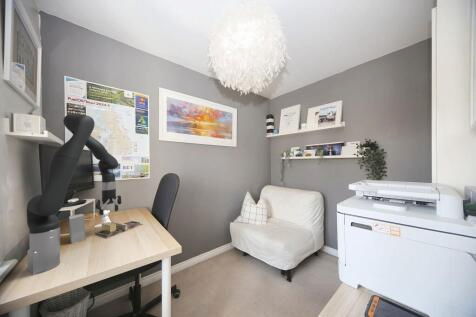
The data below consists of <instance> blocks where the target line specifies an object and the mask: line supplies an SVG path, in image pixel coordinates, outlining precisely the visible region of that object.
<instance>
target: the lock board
mask: <svg viewBox="0 0 476 317" xmlns="http://www.w3.org/2000/svg"><path fill="white" fill-rule="evenodd" d="M111 223H115V224H116V232H114V233H111V234H109V235H108V234H105V233H102V229H100V230H99V231H96V232H95V233H93V234H91V236H95V237H98V238H102V239H105V240H107V239H109V238H112V237H115V236H116V235H117V236H118V235H119V234H122V233H125V232H128V231H129V230H133V229H135V228H138V227H140V226H143V225H144V224H143V223H140V221H134V220H130V221H127V222H124V223H121V222H116V221H111Z"/></svg>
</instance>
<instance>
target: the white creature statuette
mask: <svg viewBox="0 0 476 317" xmlns="http://www.w3.org/2000/svg"><path fill="white" fill-rule="evenodd" d="M103 211H104V215H100V216H101V219H100V220H101V221H100V222H99V224H96V225H94V228H102V224H103V223H106V222H110V223H112V221H111V219H110V217H109V213H111V211H110V210H107V209H105V210H103Z"/></svg>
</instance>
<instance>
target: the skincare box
mask: <svg viewBox="0 0 476 317" xmlns="http://www.w3.org/2000/svg"><path fill="white" fill-rule="evenodd" d="M85 224H86V222H85V215H84V213H77V214H74V215H70V216H68V226H69V228H68V229H69V238H70V244H72V245H74V244H78V243H80V242H84V241H87V238H86V237H87V236H86V226H85Z"/></svg>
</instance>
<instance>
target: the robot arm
mask: <svg viewBox="0 0 476 317" xmlns="http://www.w3.org/2000/svg"><path fill="white" fill-rule="evenodd" d="M62 122H63V126H64V127H65V128H66V129H67V130H68V131H69V132H70V133H71V134H72V135H71V137H70V139H69V140H67V141H66V142H65V143H64V144H62V145H61V146H59V147H58V148H57V150H55V152H54V154H53V155H52V157H51V159H50V162H49V165H48V177H47V178H48V180H47V183H46V186H45V189H44V190H43V192H42V194H38V195H35V196H34V197H32V198H31V199H29V201H28V202H27V205H26V224H27V228H28V229H29V249H27V256H26V258H27V260H26V262H27V263H26V266H27V268H26V269H27V273H29V274H31V275H32V276H33V275H36V274H40V273H44V272H47V271H50V270H52V269H53V268H54V269H55V268H56V267H57V266H59V265H60V264H61V221H60V220H59V218H58V217H57V214H58V212H59V211H60V210H61V209H62V208H63V206H64V202H65V200H66V195H67V192H68V189H69V188H68V187H69V185H70V183H71V180H72V178H73V176H74V173H75V170H76V168H77V166H78V163H79V161H80V158H81V156H82V153H83V151H84V148H85V146H86V147H87V149H88V150H89V152H91V154H92V155H93V156H94V158H95V159H96V160H98V164H97V165H98V169H99V173H100V175H101V199H98V198H97V199H96V200H95V210H99V215H100V216H101V215H104V211H105V210H104V208H105V207H106V206H107V205H111V204H113V205H114V212H119V205H122V196H121V195H120V194H119V195H117V184H116V174H115V173H114V172H111V171H109V170H115V169H117V168H118V167H119V162H118V160H117V158H116V157H114V156H113V155H112V154H110V153H109V152H108V150H107V149H106V147H105V146H104V144H102V143H101V142H100V141H98V139H95V137H93V136H92V133H93V131H94V129H95V119H94V118H93V117H92V116H89V115H87V114H75V113H74V114H73V113H71V114H66V115H65V116H64V118H63V121H62Z"/></svg>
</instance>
